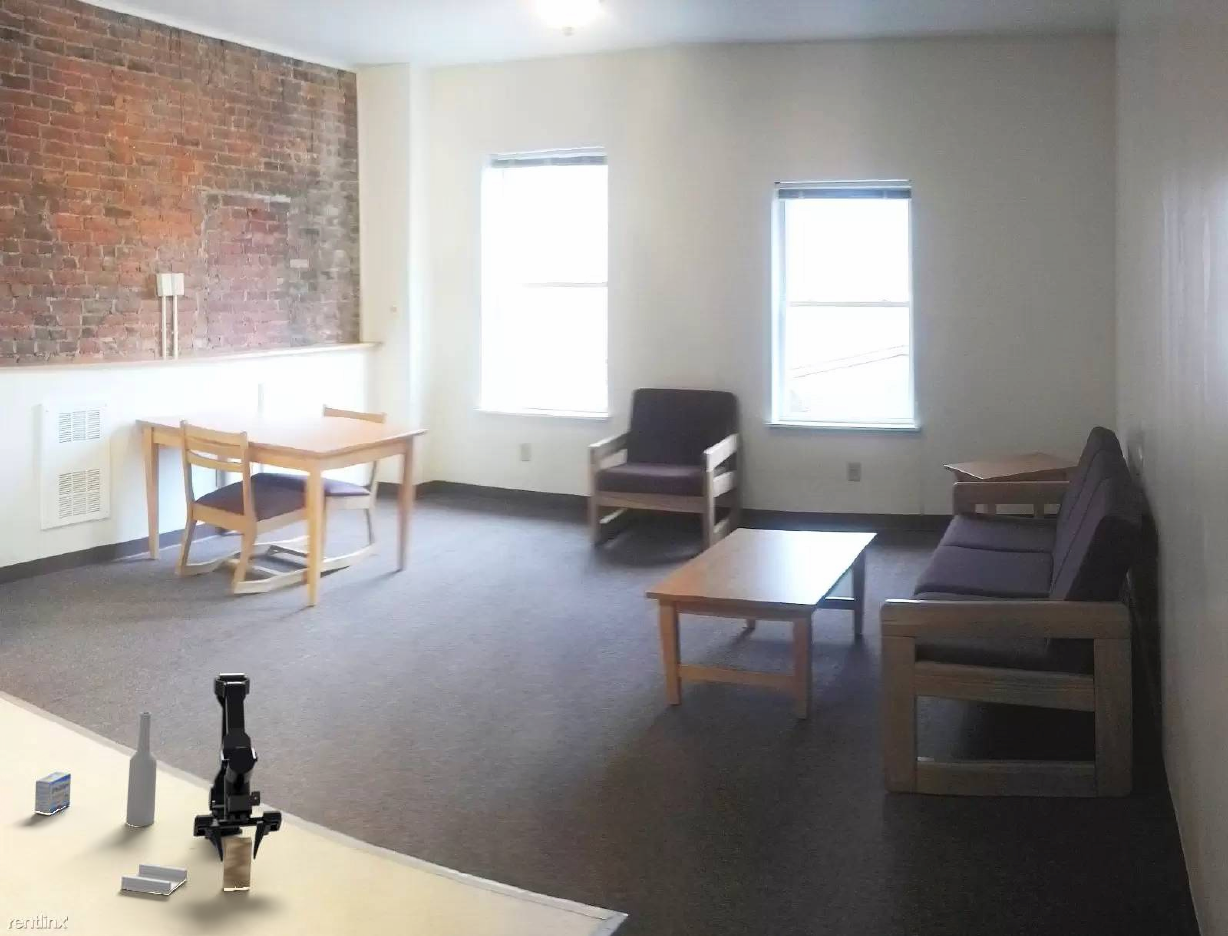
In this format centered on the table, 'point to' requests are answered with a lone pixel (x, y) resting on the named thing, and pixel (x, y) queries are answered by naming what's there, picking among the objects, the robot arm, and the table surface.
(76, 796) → the table surface
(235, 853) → the wooden block
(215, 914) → the table surface
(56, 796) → the medicine box
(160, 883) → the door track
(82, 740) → the table surface
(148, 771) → the bottle
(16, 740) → the table surface
